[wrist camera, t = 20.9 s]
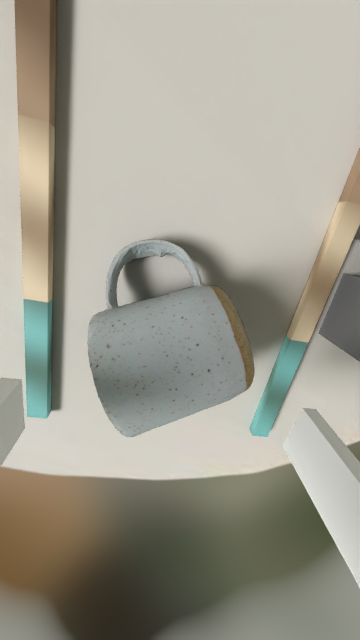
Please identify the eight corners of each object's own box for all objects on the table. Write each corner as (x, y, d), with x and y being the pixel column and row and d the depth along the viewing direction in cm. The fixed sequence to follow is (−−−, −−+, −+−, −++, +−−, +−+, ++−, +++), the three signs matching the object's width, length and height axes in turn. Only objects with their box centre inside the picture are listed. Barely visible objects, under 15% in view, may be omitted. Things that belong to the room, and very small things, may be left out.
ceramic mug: (232, 353, 20) (275, 424, 13) (139, 383, 20) (128, 469, 13) (197, 221, 16) (228, 213, 9) (82, 260, 16) (21, 284, 9)
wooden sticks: (19, -181, 10) (8, -215, 9) (442, 5, 13) (460, -8, 12) (32, 409, 20) (27, 416, 19) (264, 429, 23) (267, 436, 22)
